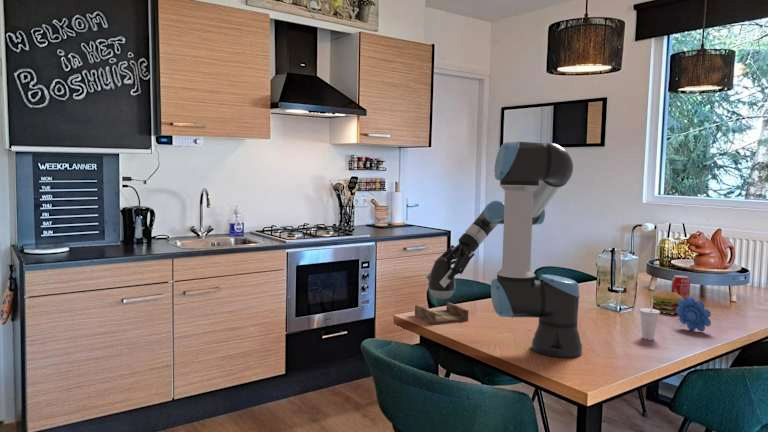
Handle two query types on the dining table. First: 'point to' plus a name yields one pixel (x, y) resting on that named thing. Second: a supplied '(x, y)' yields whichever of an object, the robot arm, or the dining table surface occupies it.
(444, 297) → the pump dispenser
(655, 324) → the smoothie
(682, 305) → the blue gear
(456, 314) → the track
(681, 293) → the soda can
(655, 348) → the dining table surface
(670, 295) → the food
